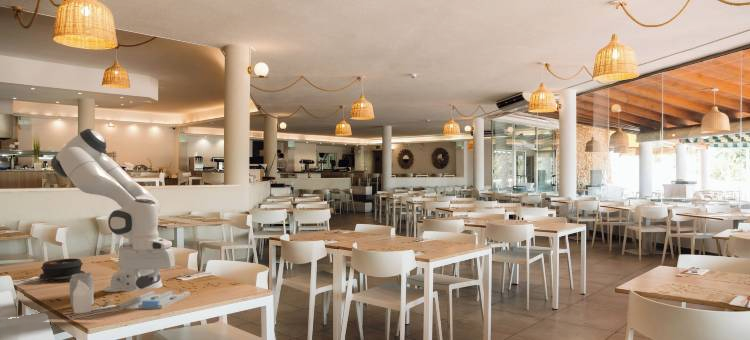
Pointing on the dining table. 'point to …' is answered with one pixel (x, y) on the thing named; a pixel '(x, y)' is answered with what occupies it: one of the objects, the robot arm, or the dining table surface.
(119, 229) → the robot arm
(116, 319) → the dining table surface
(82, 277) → the can
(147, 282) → the dark grey capsule
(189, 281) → the dining table surface
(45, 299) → the dining table surface
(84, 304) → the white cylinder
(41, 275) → the casserole
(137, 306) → the grey shallow tray
